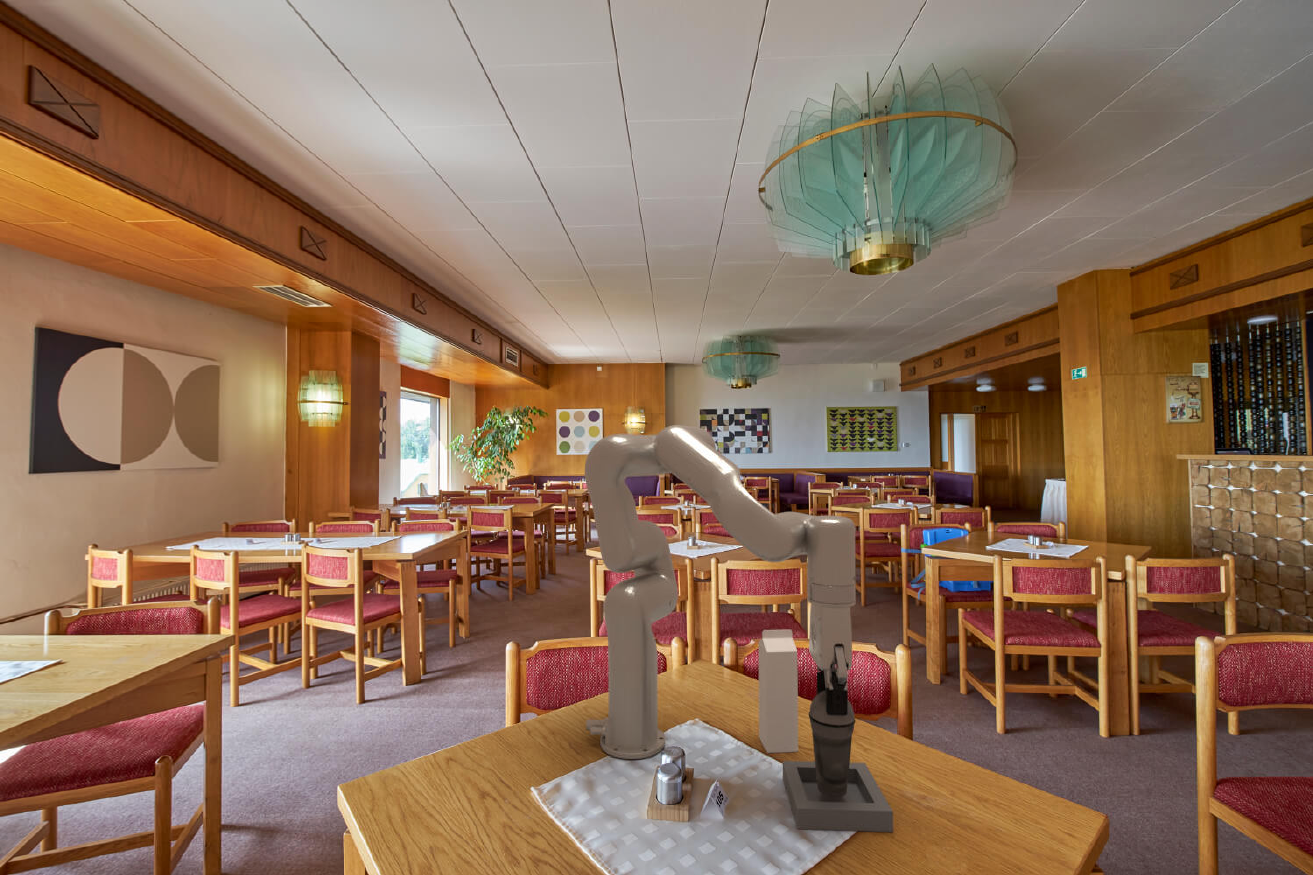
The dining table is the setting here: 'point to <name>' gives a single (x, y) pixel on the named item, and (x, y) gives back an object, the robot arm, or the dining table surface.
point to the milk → (778, 692)
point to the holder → (836, 800)
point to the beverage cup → (831, 745)
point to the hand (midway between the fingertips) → (831, 704)
